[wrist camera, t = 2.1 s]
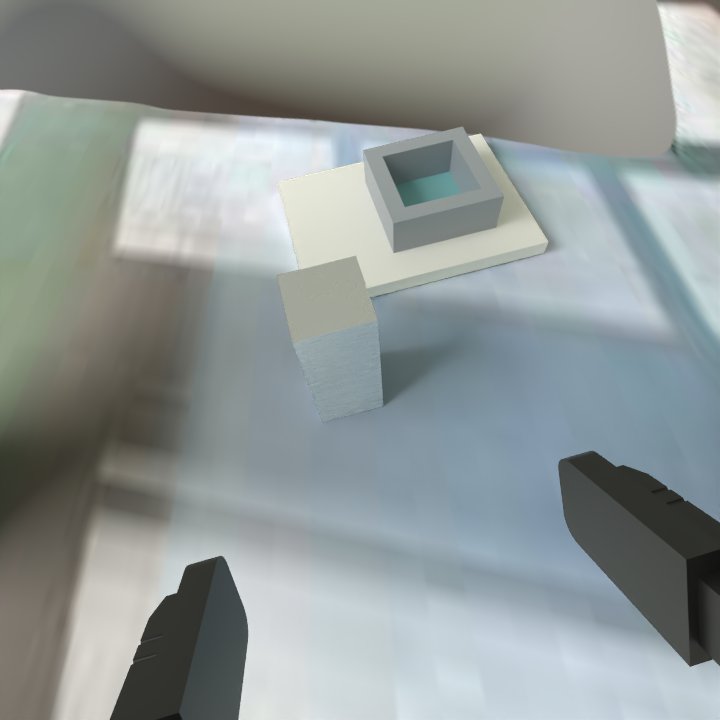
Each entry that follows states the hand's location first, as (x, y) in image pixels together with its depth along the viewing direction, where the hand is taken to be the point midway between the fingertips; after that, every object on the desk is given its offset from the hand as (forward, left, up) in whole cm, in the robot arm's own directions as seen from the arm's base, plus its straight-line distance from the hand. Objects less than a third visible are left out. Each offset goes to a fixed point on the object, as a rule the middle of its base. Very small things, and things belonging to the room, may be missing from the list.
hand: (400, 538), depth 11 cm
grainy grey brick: (0, +12, -16) cm, 20 cm away
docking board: (+8, +25, -16) cm, 31 cm away
